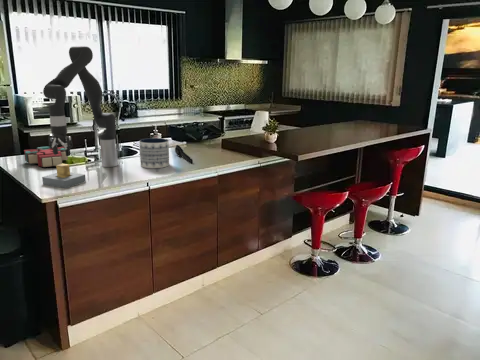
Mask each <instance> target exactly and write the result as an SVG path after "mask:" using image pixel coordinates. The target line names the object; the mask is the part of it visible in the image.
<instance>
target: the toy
mask: <svg viewBox="0 0 480 360" xmlns="http://www.w3.org/2000/svg"><path fill="white" fill-rule="evenodd" d="M57 148H58V154H56V155H54V153H53V148H52V147H51V146H40V147H39V146H38V147H36V149H24V150H23V152H24V153H23V154H24V161H25V162H26V163H28V164H37V167H42V168H46V167H47V168H48V167H56V165H60V164H63V161H68V159H69V156H66V152H65V147H64V146H60V147H58V146H57Z"/></svg>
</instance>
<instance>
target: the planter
mask: <svg viewBox="0 0 480 360" xmlns="http://www.w3.org/2000/svg"><path fill="white" fill-rule="evenodd" d="M138 143H139V156H140V157H139V160H140V161H139V162H140V166H141V167H142V168H145V169H162V168H166V167H168V166H169V165H170V150H169V148H170V145H169V143H170V142H169V139H167V138H161V137H149V138H142V139H140V140H139V141H138Z"/></svg>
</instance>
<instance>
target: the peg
mask: <svg viewBox="0 0 480 360" xmlns="http://www.w3.org/2000/svg"><path fill="white" fill-rule="evenodd" d="M55 167H56V173H57V177H61V178H65V177H69V176H70V172H71V169H70V164H67V163H62V164H60V165H56V166H55Z"/></svg>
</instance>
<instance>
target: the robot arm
mask: <svg viewBox="0 0 480 360" xmlns="http://www.w3.org/2000/svg"><path fill="white" fill-rule="evenodd" d="M68 56H69V58H70V62H71V63H70V64H68V65H66V66H64V67H63V68H62V69H61V70H60V71H59V72H58V73H57V75H56V76H55V77H54V78H53V79H51V80H50V81H48V83H46V84H45V85H44V86H43V90H42V93H43V96H44V98H46V99H49V100H54V101H55V102H54V103H51V104H49V106H48V111H49V112H48V113H49V123H50V125H49V126H50V131H51V132H50V133H51V134H48V147H51V148H53V153H54V155H56V154H58V148H57V147H58V145H62V146H61V147H65V152H66V156H68V157H69V156H71V149H72V148H74V145H73V138H72V136H67V134H68V127H67V119H66V114H65V104H66V97H67V91H66V88H68V87H69V86H70V84H71V83H72V82H73V80H74V79H75V78H76V76H77V75H78V77H79V80H80V82H81V85H82V88H83V89H84V90H83V91H84V93H85V95H86V98H87V100H88V102H89V105H90V108H91V112H92V115H93V118H94V121H95V124H96V126H97V127H98V128H100V129H105V131H104V132H103V133H101V134H100V135H99V145H100V159H101V161H100V162H101V167H103V168H113V167H117V166H118V165H119V161H118V159H119V157H118V149H117V145H116V143H117V142H116V135H117V128H116V127H117V126H116V125H117V122H116V117H115V116H116V115H114V113H112V112H111V113H109V112H103V110H102V107H101V103H102V99H103V96H104V95H103V90H102V86H101V84H100V82H99V81H98V79H97V78H96V77H95V76H94V75H93V74H92V73H90V72H89V70H88V69H87V66H88V65H89V64H90V63H91V62H92V60H93V58H94V57H93V56H94V54H93V50H92V49H91V48H90V47H89V46H86V45H75V46H71V47H70V48H69V50H68Z"/></svg>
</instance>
